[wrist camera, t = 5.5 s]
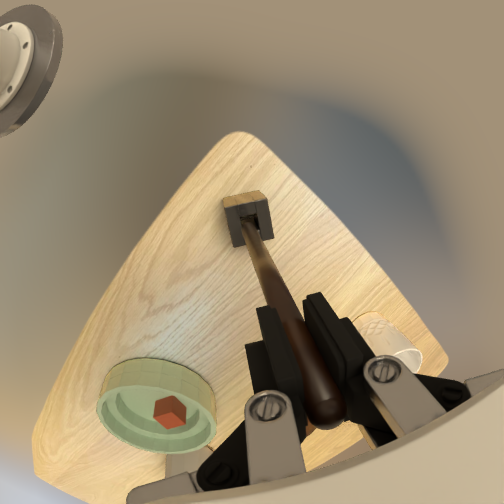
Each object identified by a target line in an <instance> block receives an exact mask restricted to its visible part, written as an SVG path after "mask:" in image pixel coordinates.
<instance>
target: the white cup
mask: <svg viewBox="0 0 504 504" xmlns="http://www.w3.org/2000/svg"><path fill="white" fill-rule="evenodd" d="M353 325H354V326H355V328H356V329H357V330H358V332H359V333H360V334H361V336H362V337H363V339H364V340H365V341H366V343H367V344H368V346H369V347H370V348H371V350H372V351H373V353H374V354H375V355H376V356H380V355H390V356H394V357H397V358H399V359H400V360H401V361H402V362H403V363H404V364H405V365H406V366H407V367H408V368H409V370H410V371H411V372H412V373H415V374H417V372H418V370H419V369H420V367H421V364H422V353H421V352H420V351H419V350H418V349H417V348H416V347H415V346H414V345H413V344H412V342H411V341H410V340H409V339H408V338H407V337H406V336H405V335H404V334H403V333H402V332H401V331H400V330H398V329H397V328H396V327H395V326H394V325H393V324H392V323H391V322H389V321H388V320H387V319H386V318H385V317H384V316H383V315H382V314H380V313H378V312H367V313H365V314H363V315H361V316H359V317H358V318H357V319H356V320H355V321H354V322H353Z"/></svg>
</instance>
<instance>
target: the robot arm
mask: <svg viewBox="0 0 504 504" xmlns="http://www.w3.org/2000/svg"><path fill="white" fill-rule="evenodd" d="M33 53H34V38H33V34H32V32H31V30H30V29H29V28H28V26H26V25H24V24H22V23H19V22H11V23H8V24H5V25H3V26H1V27H0V110H2V109H3V108H4V107H5V106H6V105H7V104H9V102H10V101H11V100H12V99H13V98H14V96H15V95H16V94H17V92H18V90H19V89H20V87H21V86H22V84H23V82H24V80H25V78H26V76H27V73H28V71H29V69H30V65H31V62H32V59H33ZM302 302H303V311H304V319H305V324H306V326H307V328H308V330H309V332H310V334H311V336H312V338H313V340H314V342H315V343H316V345H317V347H318V349H319V351H320V353H321V355H322V357H323V359H324V361H325V363H326V365H327V367H328V369H329V371H330V373H331V375H332V377H333V379H334V381H335V383H336V385H337V387H338V389H339V390H340V392H341V394H342V396H343V398H344V400H345V402H346V405H347V414H346V417H345V419H344V422H346V421H349V420H350V421H351V422H353V423H357V424H358V427H359V429H360V431H361V433H362V434H363V436H364V438H365V439H366V441H367V443H368V444H369V446H370V448H371V449H372V450H371V451H369V452H366V453H364V454H361V455H358V456H356V457H353V458H350V459H348V460H345V461H342V462H339V463H336V464H333V465H330V466H327V467H323V468H320V469H317V470H314V471H310V472H307V473H306V469H305V464H304V459H303V455H302V450H301V443H302V442H303V441H304V439H305V438H306V436H307V434H306V426H308V419H307V414H306V412H305V409H304V406H303V404H304V401H305V394H304V386H303V379H302V374H301V371H300V368H299V365H298V363H297V360H296V358H295V355H294V352H293V350H292V347H291V345H290V342H289V340H288V337H287V335H286V332H285V330H284V327H283V325H282V322H281V319H280V317H279V314H278V312H277V309H276V307H274V308H270V305H267V306H263V307H259V308H256V311H257V315H258V320H259V324H260V329H261V333H262V337H263V340H262V341H258V342H253V343H249V344H245V349H246V354H247V360H248V365H249V370H250V375H251V380H252V385H253V390H254V395H253V396H252V397H251V398H250V399H249V400H248V401H247V403H246V405H245V409H244V415H245V420H244V421H243V422H242V423H241V424H240V425H239V426H238V427H237V428H236V430H235V431H234V432H233V433H232V434H231V435H230V436H229V437H228V438H227V439H226V440H225V441H224V442H223V443H222V444H221V445H220V446H219V447H218V448H217V449H216V450H215V451H214V452H213V453H212V454H211V455H210V456H209V457H208V458H207V459H206V460H205V461H204V462H203V463H202V464H201V466H200V467H199V468H198V470H196V471H194V472H191V473H188V471H186V472H183V473H181V474H178V475H175V476H172V477H169V478H165V479H162V480H159V481H156V482H152V483H149V484H145V485H142V486H138V487H136V488H134V489H132V490H131V491H130V492H129V493H128V496H127V498H126V504H504V369H501V370H497V371H494V372H491V373H488V374H484V375H481V376H478V377H474V378H470V379H467V380H465V381H464V383H460V382H458V381H455V380H449V379H443V378H437V377H431V376H426V375H420V374H415V373H412V372H411V371H410V370H409V368H408V367H407V366H406V365H405V364H404V363H403V362H402V361H401V360H400V359H399V358H397V357H394V356H390V355H380V356H376V355H375V354H374V353H373V351H372V350H371V348H370V347H369V346H368V344H367V343H366V341H365V340H364V339H363V337H362V336H361V334H360V333H359V332H358V330H357V329H356V328H355V326H354V325H353V323H352V322H351V321H350V319H349V318H347V317H345V318H342V319H339V318H338V316H337V315H336V313H335V312H334V311H333V309H332V308H331V306H330V305H329V303H328V302H327V300H326V299H325V298H324V296H323V295H322V293H321V292H317V293H314V294H310V295H307V297H306V299H305V300H303V301H302Z"/></svg>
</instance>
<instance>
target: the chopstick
mask: <svg viewBox="0 0 504 504" xmlns="http://www.w3.org/2000/svg"><path fill="white" fill-rule="evenodd" d="M241 231H242V234H243V237H244V240H245V243H246V245H247V248H248V251H249V254H250V257H251V260H252V262H253V265H254V268H255V271H256V274H257V277H258V279H259V282H260V285H261V288H262V291H263V294H264V296H265V299H266V302H267V305H270V308H274V307H276V309H277V312H278V314H279V317H280V319H281V322H282V325H283V327H284V330H285V332H286V335H287V337H288V340H289V342H290V345H291V347H292V350H293V352H294V355H295V358H296V360H297V363H298V365H299V368H300V371H301V374H302V379H303V386H304V394H305V401H304V404H303V406H304V409H305V412H306V414H307V417H308V420H309V421H310V423H311V424H312V425H313V426H314V427H316V428H318V429H321V430H330V429H333V428H336V427H337V426H339V425H340V424H341V423H342V422H343V421H344V419H345V417H346V414H347V405H346V402H345V400H344V398H343V396H342V394H341V392H340V390H339V389H338V387H337V385H336V383H335V381H334V379H333V377H332V375H331V373H330V371H329V369H328V367H327V365H326V363H325V361H324V359H323V357H322V355H321V353H320V351H319V349H318V347H317V345H316V343H315V342H314V340H313V338H312V336H311V334H310V332H309V330H308V328H307V326H306V324H305V321H304V319H303V317H302V315H301V313H300V311H299V310H298V308H297V306H296V304H295V302H294V300H293V298H292V296H291V294H290V292H289V290H288V288H287V286H286V285H285V283H284V281H283V279H282V277H281V275H280V273H279V271H278V269H277V267H276V265H275V264H274V262H273V260H272V258H271V256H270V254H269V252H268V250H267V248H266V246H265V245H264V243H263V241H262V239H261V237H260V235H259V233H258V231H257V230H256V228H255V226H254V225H253V224H252V223H245V224H244V225H243V226H242V228H241Z"/></svg>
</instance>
